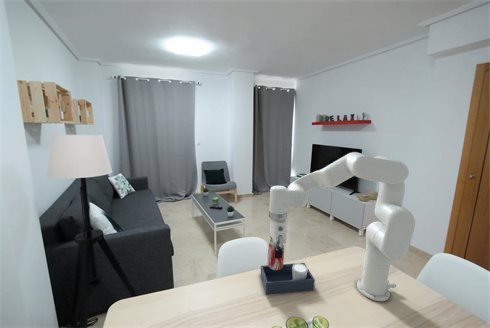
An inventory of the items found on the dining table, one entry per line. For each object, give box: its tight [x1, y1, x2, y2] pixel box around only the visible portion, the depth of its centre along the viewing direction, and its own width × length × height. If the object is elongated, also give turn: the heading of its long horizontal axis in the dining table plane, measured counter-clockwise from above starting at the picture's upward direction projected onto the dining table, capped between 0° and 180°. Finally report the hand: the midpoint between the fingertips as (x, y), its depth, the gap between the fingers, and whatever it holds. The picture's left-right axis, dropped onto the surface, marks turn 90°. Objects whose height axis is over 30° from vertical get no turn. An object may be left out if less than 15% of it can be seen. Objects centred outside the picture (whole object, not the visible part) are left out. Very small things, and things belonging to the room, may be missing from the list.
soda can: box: [267, 239, 285, 270], centre depth 98 cm, size 7×7×12 cm
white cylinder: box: [292, 262, 309, 280], centre depth 102 cm, size 7×7×7 cm
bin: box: [260, 262, 315, 296], centre depth 101 cm, size 22×12×6 cm, turn 97°
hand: (275, 252), depth 98 cm, fingers closed on soda can, 7 cm apart
